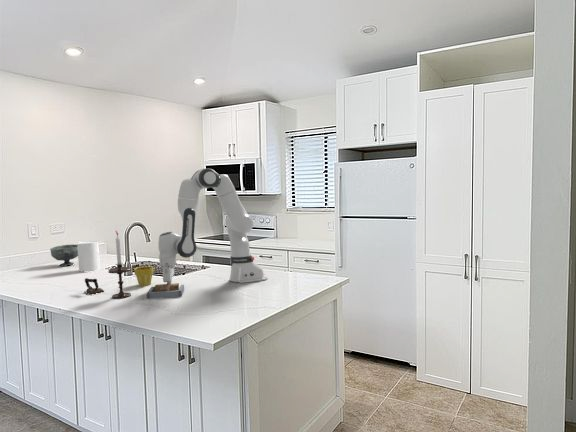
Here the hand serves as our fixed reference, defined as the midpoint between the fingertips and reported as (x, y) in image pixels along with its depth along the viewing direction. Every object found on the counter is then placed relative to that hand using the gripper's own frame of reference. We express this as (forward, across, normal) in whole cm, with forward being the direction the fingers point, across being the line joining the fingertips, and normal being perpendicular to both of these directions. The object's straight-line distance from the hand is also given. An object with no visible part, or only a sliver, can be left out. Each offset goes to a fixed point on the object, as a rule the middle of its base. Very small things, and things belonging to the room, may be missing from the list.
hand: (169, 286), depth 227 cm
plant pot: (+2, +17, +16) cm, 23 cm away
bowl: (+2, +105, +89) cm, 137 cm away
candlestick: (+2, -8, +23) cm, 25 cm away
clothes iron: (+2, +7, +42) cm, 42 cm away
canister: (+2, +78, +64) cm, 101 cm away
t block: (+2, -10, +1) cm, 10 cm away
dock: (+2, -10, 0) cm, 10 cm away
